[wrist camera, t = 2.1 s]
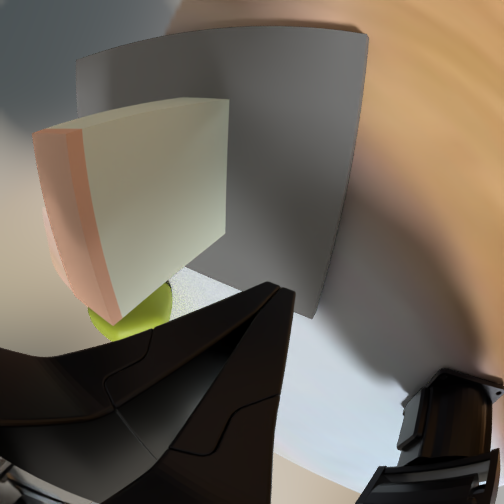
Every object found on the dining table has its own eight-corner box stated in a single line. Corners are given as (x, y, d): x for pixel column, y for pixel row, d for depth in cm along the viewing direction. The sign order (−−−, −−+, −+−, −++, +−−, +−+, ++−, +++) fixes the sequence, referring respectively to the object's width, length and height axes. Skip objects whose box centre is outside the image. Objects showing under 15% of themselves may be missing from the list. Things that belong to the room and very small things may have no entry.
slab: (229, 99, 13) (65, 134, 7) (225, 233, 18) (113, 326, 11) (181, 97, 15) (31, 133, 8) (184, 219, 19) (74, 295, 12)
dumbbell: (127, 252, 27) (70, 291, 21) (190, 287, 24) (130, 341, 19) (147, 349, 36) (112, 384, 31) (195, 381, 34) (160, 421, 28)
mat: (368, 37, 9) (366, 34, 9) (316, 311, 18) (312, 319, 18) (83, 59, 17) (75, 60, 17) (99, 220, 26) (93, 224, 26)
